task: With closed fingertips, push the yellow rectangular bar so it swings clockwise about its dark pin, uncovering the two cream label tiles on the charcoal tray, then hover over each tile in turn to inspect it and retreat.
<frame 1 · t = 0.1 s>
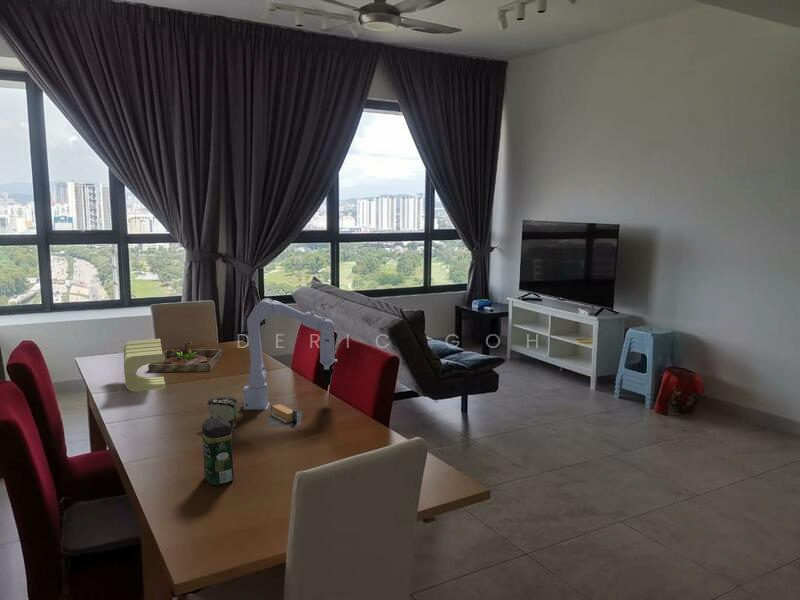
hand: (327, 381, 249), 10 cm above the table, fingers open, 7 cm apart
coffee jar: (219, 479, 185), on the table
label near: (287, 419, 234), resting on tray
yellow rectangular bar: (283, 411, 235), point 3 cm above the table, hinge at 0.0°
slatted curved stool: (145, 386, 274), on the table
tray: (285, 419, 234), on the table
coaster frame: (187, 363, 311), on the table
food container: (227, 425, 229), on the table
plant: (187, 364, 311), resting in coaster frame
label far: (280, 415, 237), resting on tray
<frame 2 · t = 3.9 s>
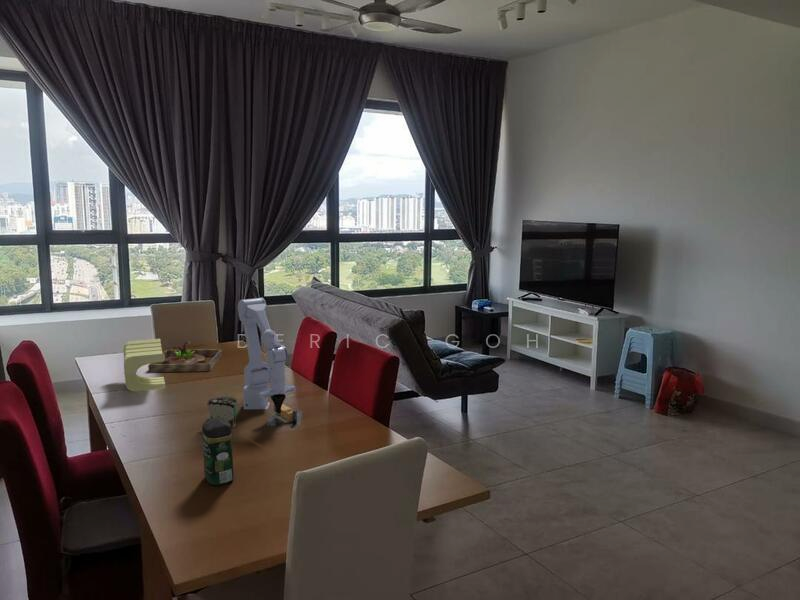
hand: (278, 412, 235), 2 cm above the table, fingers closed, pressing on yellow rectangular bar
yellow rectangular bar: (284, 411, 236), point 3 cm above the table, hinge at -4.7°, touching gripper
plant: (185, 363, 313), resting in coaster frame
everything else where it was.
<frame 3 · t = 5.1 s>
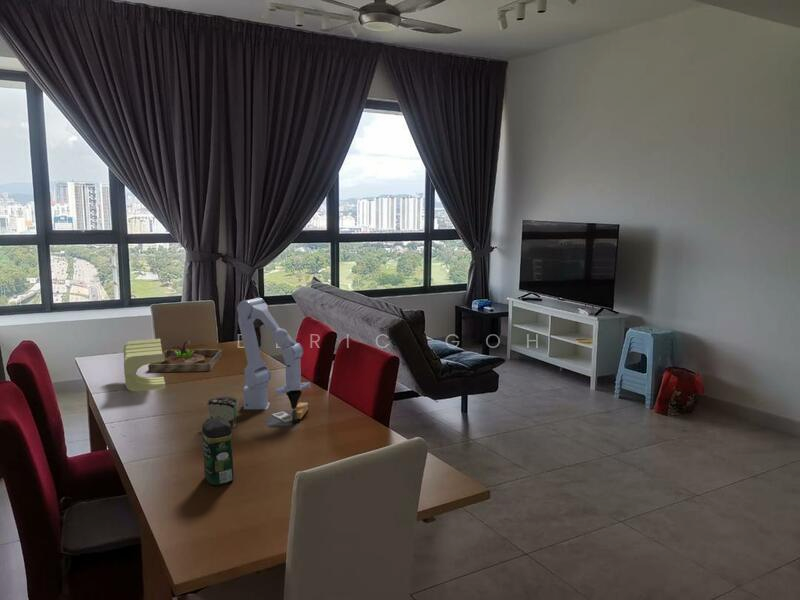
hand: (293, 408, 240), 2 cm above the table, fingers closed
yellow rectangular bar: (300, 410, 237), point 3 cm above the table, hinge at -48.1°, touching gripper
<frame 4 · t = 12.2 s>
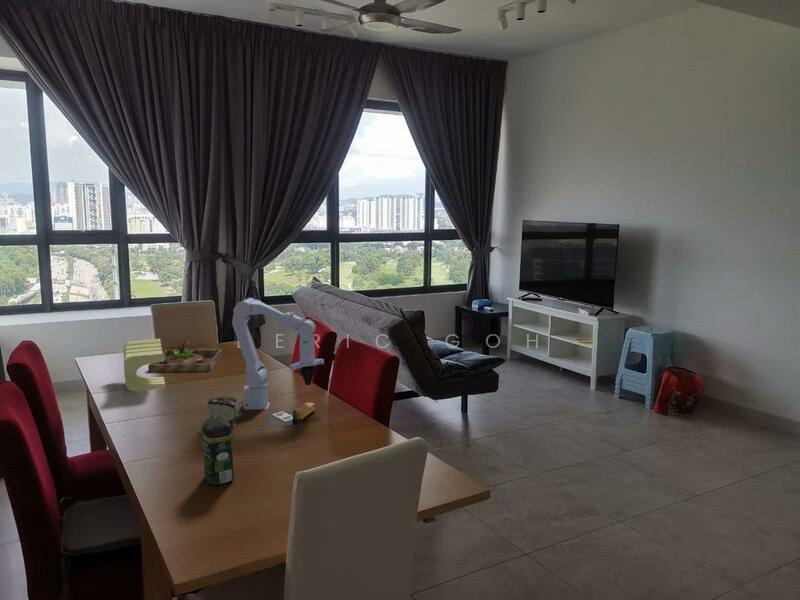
hand: (307, 384, 244), 10 cm above the table, fingers closed
yellow rectangular bar: (304, 410, 237), point 3 cm above the table, hinge at -60.2°
at the end: yellow rectangular bar at -60° (first picture: +0°) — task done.
